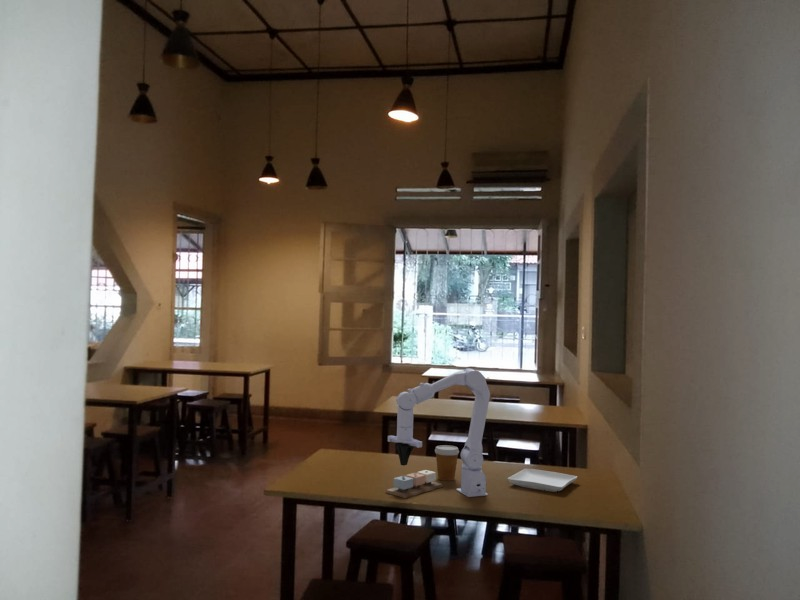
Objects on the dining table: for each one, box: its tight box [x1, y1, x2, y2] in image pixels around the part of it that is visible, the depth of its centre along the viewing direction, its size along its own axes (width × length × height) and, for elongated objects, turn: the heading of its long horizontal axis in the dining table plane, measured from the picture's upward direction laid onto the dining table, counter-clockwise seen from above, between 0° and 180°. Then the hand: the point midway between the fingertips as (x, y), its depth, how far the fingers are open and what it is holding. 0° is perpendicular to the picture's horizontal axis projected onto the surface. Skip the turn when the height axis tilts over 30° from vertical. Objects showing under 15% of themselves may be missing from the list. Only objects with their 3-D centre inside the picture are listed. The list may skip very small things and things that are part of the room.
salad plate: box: [507, 468, 578, 493], centre depth 240 cm, size 21×21×3 cm
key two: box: [405, 472, 425, 486], centre depth 228 cm, size 5×5×3 cm
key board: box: [385, 481, 443, 499], centre depth 228 cm, size 21×9×3 cm, turn 139°
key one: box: [416, 469, 437, 483], centre depth 233 cm, size 5×5×3 cm
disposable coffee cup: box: [434, 444, 460, 482], centre depth 245 cm, size 10×10×12 cm
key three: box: [392, 475, 414, 490], centre depth 223 cm, size 5×5×3 cm
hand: (403, 464), depth 223 cm, fingers closed
